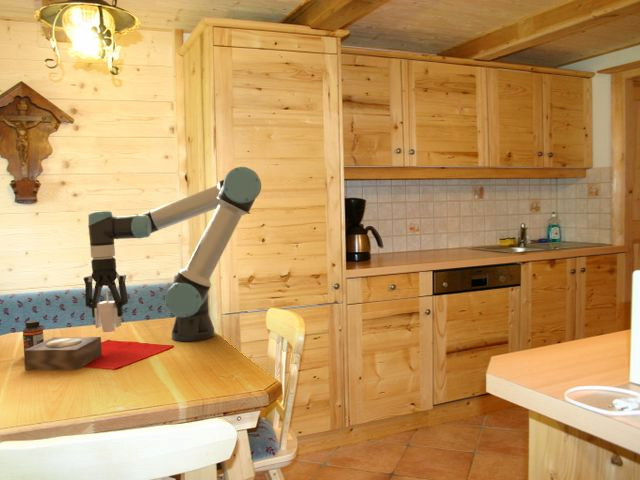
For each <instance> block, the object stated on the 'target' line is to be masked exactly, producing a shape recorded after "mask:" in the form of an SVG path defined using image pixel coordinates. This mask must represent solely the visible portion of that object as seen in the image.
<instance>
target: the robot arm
mask: <svg viewBox="0 0 640 480" xmlns="http://www.w3.org/2000/svg"><path fill="white" fill-rule="evenodd" d="M261 190H262V182H261V179H260V176H259V175H258V173H257V172H256V171H255V170H254V169H251V168H249V167H247V166H246V167H245V166H236V167H234V168H232V169H231V170H230V171H229V172H227V174H226V175H225V177H224V179H222V180H219V181H218V183H217V184H216V185H214V186H211V187H209V188H206V189H204V190H202V191H199V192H196V193H193V194H190V195H188V196H185V197H183V198H180V199H177V200H175V201H172V202H170V203H167V204H164V205H162V206H159V207H157V208H153V209H151V210H149V211H146V212H143V213H140V214H137V215H135V214H134V215H122V216H114V214H113V212H112V211H111V210H105V211H104V210H103V211H91V212H89V213H88V225H87V227H88V234H89V245H90V257H91V258H92V259H91V260H90V261H91V271H92V273H91V275H88V276H84V277H83V281H84V286H85V290H84V291H85V293H84V294H85V306H86V307H87V308H88V307H89V308H91V313H92V315H91V316H92V318H94V322H95V324H94V325H95V329H98V328H102V324H101V319H100V314H99V309H98V307H97V303H98V302H100V297H101V293H102V288H103V287H104V286H105V287H108V290H109V291H110V293H111V296H112V298H113V301H115V304H116V307H115V308H114V311H115V328H119V327H121V326H122V317H123V316H124V308H123V307H124V306H125V305H127V304H129V300H128V293H127V287H126V279H127V275H125V274H119V273H118V272H117V262H116V261H117V260H116V258H115V256H116V250H115V247H116V246H115V240H122V239H125V240H127V239H139V240H140V239H143V238H145V239H146V238H149V237H150V236H151V234H152V233H155V232H158V231H160V230H163V229H166V228H168V227H171V226H173V225H175V224H179V223H181V222H183V221H187V220H190V219H192V218H194V217H198V216H200V215H203V214H205V213H208V212H210V211H214V210H215V211H214V212H213V214H212V216H211V218H210V220H209V222H208V224H207V226H206V228H205V230H204V232H203V234H202V236H201V238H200V240H199V242H198V244H197V246H196V247H195V249H194V252H192V255H191V258H190V259H189V260H188V263H187V265H186V267H184V268H182V269H179V271H178V273H177V274H175V275H174V277H173V282H172V285H171V286H170V287H168V289H167V290H166V293H165V297H164V302H165V303H164V304H165V306H166V309H167V310H168V311H169V313H170V314H172V315H174V316H175V319H174V323H173V327H172V328H171V329H172V330H171V340H173V341H178V342H195V341H196V342H197V341H203V340H204V341H205V340H208V339H211V338H213V337H214V336H215V335H216V334H215V332H216V331H215V327H214V324H213V322H212V319H211V316H210V311H209V310H210V309H209V291H210V289H211V287H212V283H211V281H210V278H211V277H212V275H213V273H214V270H215V269H216V267H217V264H218V263H219V261H220V259H221V258H222V256H223V254H224V251H225V250H226V248H227V245H228V244H229V242H230V240H231V238H232V235H233V234H234V232H235V230H236V228H237V227H238V224H239V222H240V220H241V218H242V216H245V215H248V214H249V213H250V211H251V208H252V206H253V205H254V203H255V200H256V199H257V198H258V196H259V195H260V193H261ZM116 279H117V281H118V288H119V289H118V288H117V284H116ZM93 282H95V285H94V292H93ZM118 290H119V291H118Z"/></svg>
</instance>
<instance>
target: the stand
mask: <svg viewBox="0 0 640 480" xmlns="http://www.w3.org/2000/svg"><path fill="white" fill-rule="evenodd" d="M102 352H103V351H102V337H101V336H74V337H73V336H70V337H69V336H67V337H65V336H63V337H54V336H53V337H50V338H49V339H46V340H44V342H42V343H39V344H37V345H35V346H33V347H30V348H28V349H26V350H24V349H23V357H24V370H25V371H77V370H79V369H81V368H83V367H84V366H86V365H88V364H89V363H91V362H93V361H95V360H96V359H98V358H99V356H100V357H101V356H102V355H103V353H102ZM94 359H95V360H94Z"/></svg>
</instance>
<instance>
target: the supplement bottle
mask: <svg viewBox="0 0 640 480" xmlns="http://www.w3.org/2000/svg"><path fill="white" fill-rule="evenodd" d="M44 339H45V338H44V328H43V327H42V326H40V320H38V319H32V320H27V321H25V328H23V330H22V341H23V351H24V350H26V349H28V348H30V347H33V346H35V345H37V344H39V343H42V342H44V341H45V340H44Z"/></svg>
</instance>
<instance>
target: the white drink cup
mask: <svg viewBox="0 0 640 480" xmlns="http://www.w3.org/2000/svg"><path fill="white" fill-rule="evenodd" d="M105 293H106V294H105V295H106V300H102V301H99V302H98V303H97V307H98V309H99V314H100V319H101V325H102V326H101V328H102V332H103V333H111V332H114V331H115V330H116V329H115V328H116V325H115V311H114V308H115V307H116V304H115V301H114V300H109V288H108V289H105Z"/></svg>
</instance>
